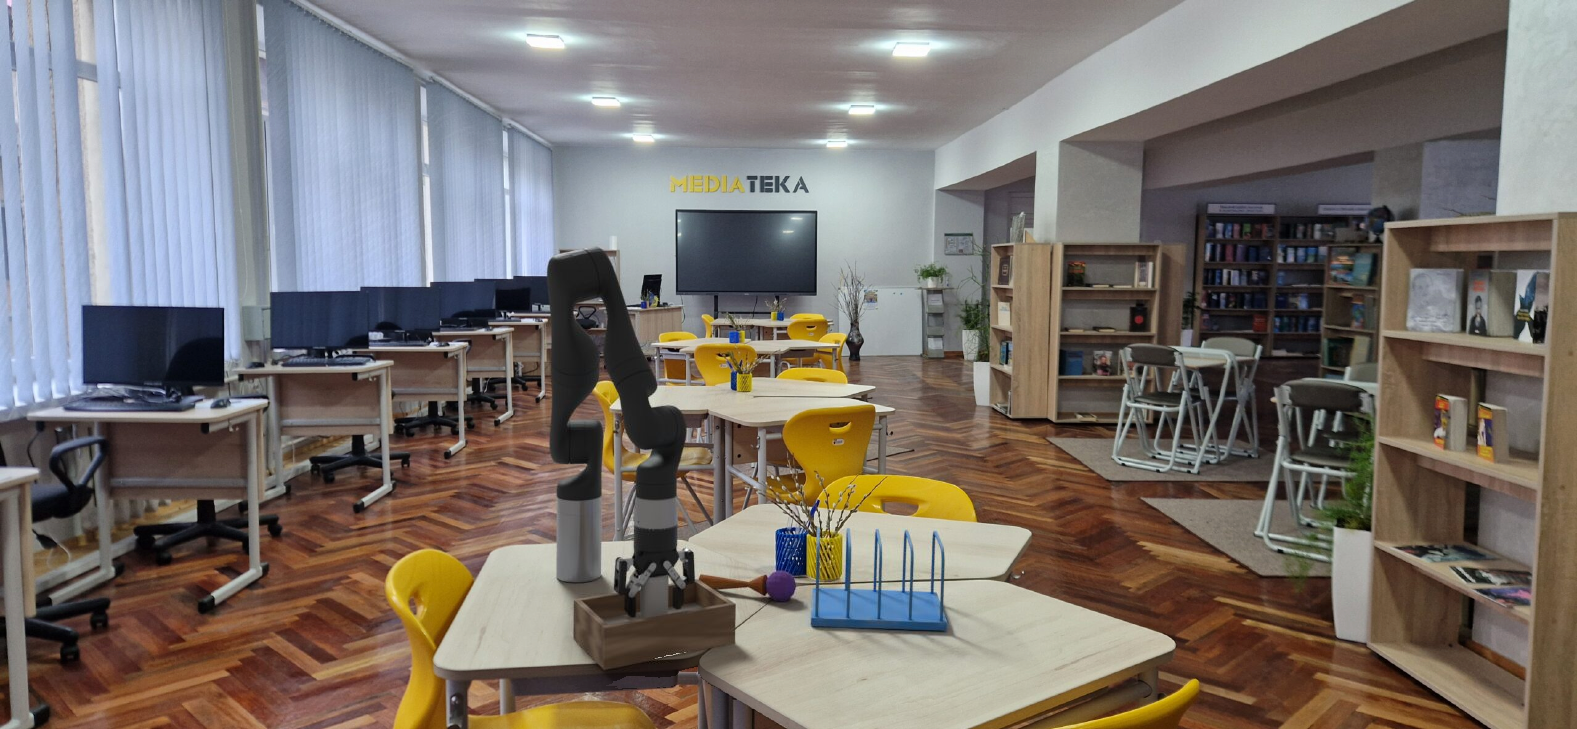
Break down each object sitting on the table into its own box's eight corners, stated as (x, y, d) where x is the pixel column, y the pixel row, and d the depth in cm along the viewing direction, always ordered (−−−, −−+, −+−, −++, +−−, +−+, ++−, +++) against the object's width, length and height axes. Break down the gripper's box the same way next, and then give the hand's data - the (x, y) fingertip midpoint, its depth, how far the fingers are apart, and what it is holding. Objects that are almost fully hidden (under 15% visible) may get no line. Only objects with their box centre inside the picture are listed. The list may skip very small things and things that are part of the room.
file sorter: (936, 601, 188) (939, 526, 187) (947, 633, 171) (951, 551, 169) (812, 596, 189) (814, 521, 188) (810, 627, 172) (813, 546, 170)
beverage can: (671, 636, 165) (672, 570, 164) (662, 647, 161) (663, 579, 160) (645, 634, 166) (646, 568, 165) (635, 644, 162) (636, 576, 160)
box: (573, 638, 164) (573, 599, 163) (697, 615, 176) (697, 579, 175) (604, 670, 151) (604, 628, 150) (734, 642, 163) (735, 604, 163)
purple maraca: (706, 566, 194) (799, 569, 188) (706, 595, 193) (799, 599, 188) (695, 569, 188) (790, 572, 183) (695, 599, 188) (790, 603, 182)
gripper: (625, 531, 155) (624, 626, 156) (702, 521, 162) (700, 612, 164) (608, 520, 161) (607, 612, 162) (684, 511, 168) (682, 599, 170)
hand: (654, 612), depth 163 cm, fingers open, 8 cm apart
